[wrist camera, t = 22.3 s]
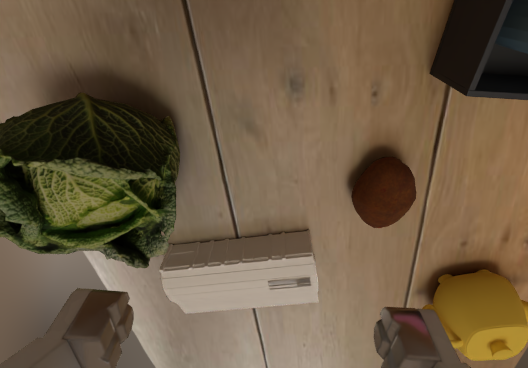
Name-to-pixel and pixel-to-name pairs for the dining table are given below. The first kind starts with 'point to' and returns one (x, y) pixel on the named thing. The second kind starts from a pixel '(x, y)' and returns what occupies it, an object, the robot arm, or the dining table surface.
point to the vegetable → (89, 180)
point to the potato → (384, 192)
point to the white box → (241, 273)
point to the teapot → (481, 315)
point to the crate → (480, 53)
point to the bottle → (515, 27)
